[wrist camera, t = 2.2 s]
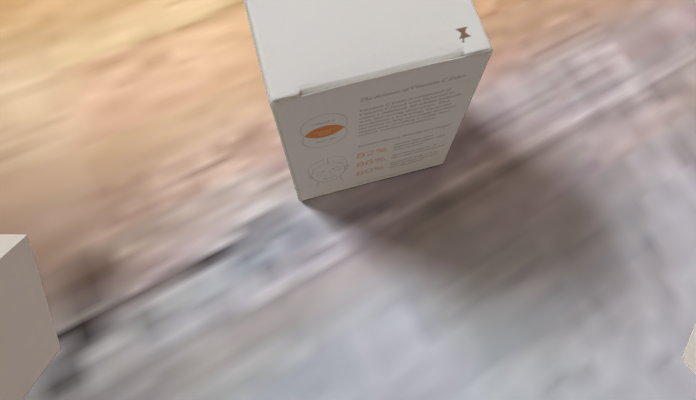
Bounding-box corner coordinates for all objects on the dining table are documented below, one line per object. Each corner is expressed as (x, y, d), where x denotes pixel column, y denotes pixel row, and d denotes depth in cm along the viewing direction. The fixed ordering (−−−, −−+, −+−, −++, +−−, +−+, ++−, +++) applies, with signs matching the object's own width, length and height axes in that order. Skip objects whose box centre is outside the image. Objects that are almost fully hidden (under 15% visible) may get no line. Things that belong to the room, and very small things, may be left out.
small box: (413, 78, 29) (447, -77, 19) (445, 167, 28) (501, 47, 18) (273, 111, 29) (234, -32, 19) (296, 204, 27) (268, 102, 17)
